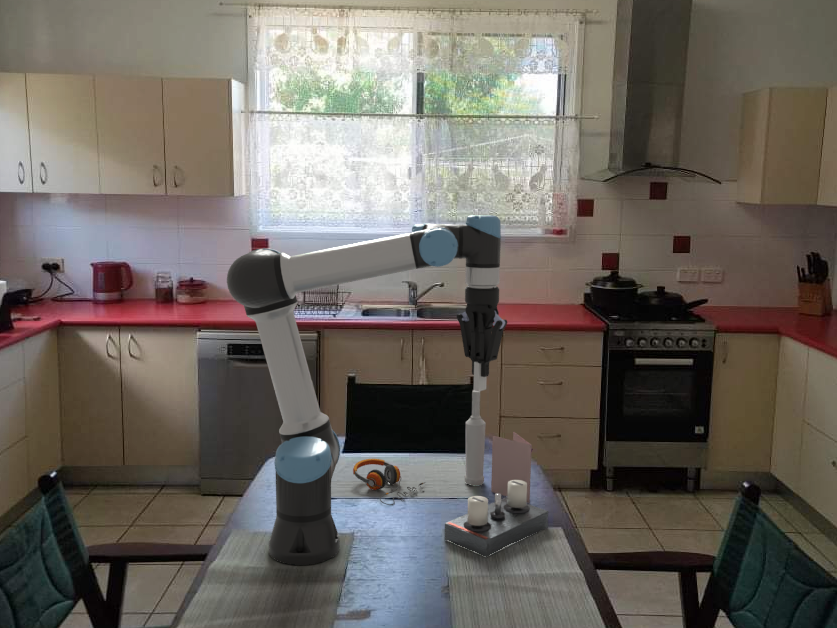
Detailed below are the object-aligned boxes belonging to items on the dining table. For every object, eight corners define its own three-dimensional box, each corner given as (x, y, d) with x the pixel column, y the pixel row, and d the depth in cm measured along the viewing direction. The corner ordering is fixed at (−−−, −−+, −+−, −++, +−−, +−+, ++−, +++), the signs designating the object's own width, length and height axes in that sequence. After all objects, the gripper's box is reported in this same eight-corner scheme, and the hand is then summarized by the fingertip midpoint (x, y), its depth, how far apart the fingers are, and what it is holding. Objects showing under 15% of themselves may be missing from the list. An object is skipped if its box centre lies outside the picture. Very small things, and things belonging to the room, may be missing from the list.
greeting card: (532, 502, 201) (534, 444, 199) (505, 505, 199) (506, 447, 197) (514, 486, 212) (516, 430, 210) (488, 488, 210) (489, 433, 208)
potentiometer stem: (487, 517, 183) (487, 494, 182) (496, 513, 185) (497, 490, 184) (498, 521, 181) (499, 498, 180) (507, 517, 183) (508, 494, 182)
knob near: (463, 521, 178) (463, 499, 177) (476, 515, 181) (476, 493, 180) (478, 527, 175) (479, 505, 174) (491, 521, 178) (492, 499, 177)
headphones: (391, 498, 197) (338, 461, 209) (387, 517, 198) (335, 478, 211) (438, 481, 209) (385, 446, 221) (434, 498, 210) (382, 463, 223)
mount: (444, 540, 180) (444, 522, 179) (506, 512, 195) (507, 495, 195) (486, 558, 172) (486, 539, 171) (547, 527, 187) (548, 510, 186)
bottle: (461, 480, 216) (463, 389, 212) (479, 478, 217) (481, 388, 213) (468, 487, 211) (470, 394, 207) (487, 485, 212) (489, 392, 208)
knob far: (503, 503, 188) (503, 482, 187) (515, 498, 191) (515, 478, 190) (518, 509, 184) (519, 487, 184) (530, 504, 188) (530, 482, 187)
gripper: (516, 287, 177) (513, 392, 180) (471, 281, 186) (469, 381, 189) (494, 290, 171) (491, 398, 175) (448, 284, 180) (447, 387, 184)
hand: (479, 389), depth 182 cm, fingers closed
